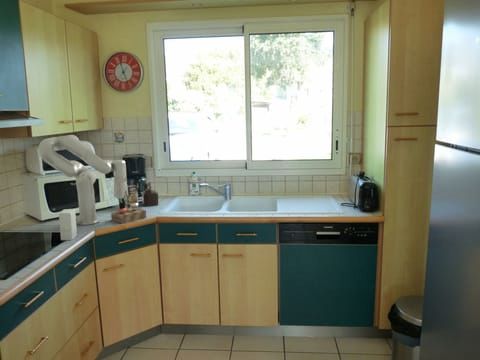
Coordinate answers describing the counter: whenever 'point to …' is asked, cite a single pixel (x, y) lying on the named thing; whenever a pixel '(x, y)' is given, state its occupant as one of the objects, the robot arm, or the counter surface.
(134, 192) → the coffee box
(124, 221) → the button box
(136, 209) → the grey plunger
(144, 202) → the brown storage container
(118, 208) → the red plunger
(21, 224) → the counter surface
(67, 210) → the skincare box
